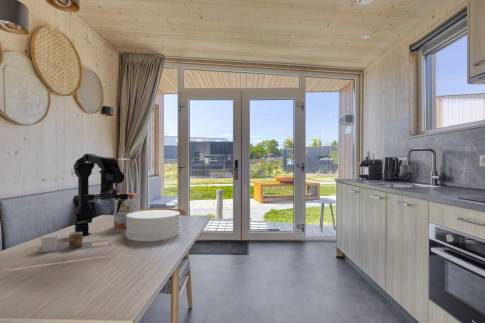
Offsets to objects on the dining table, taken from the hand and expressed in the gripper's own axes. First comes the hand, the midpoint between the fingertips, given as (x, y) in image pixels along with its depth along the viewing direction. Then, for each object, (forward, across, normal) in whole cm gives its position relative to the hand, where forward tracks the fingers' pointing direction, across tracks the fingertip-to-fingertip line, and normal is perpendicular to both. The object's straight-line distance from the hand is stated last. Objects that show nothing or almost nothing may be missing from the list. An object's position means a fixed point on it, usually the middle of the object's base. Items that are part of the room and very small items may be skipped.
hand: (106, 214), depth 133 cm
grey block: (+13, -22, -4) cm, 26 cm away
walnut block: (+13, -12, -4) cm, 18 cm away
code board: (+14, -12, -4) cm, 19 cm away
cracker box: (+14, +11, +33) cm, 38 cm away
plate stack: (+14, +24, +8) cm, 28 cm away
